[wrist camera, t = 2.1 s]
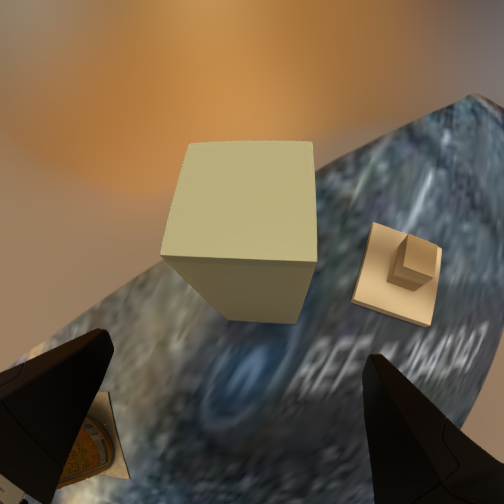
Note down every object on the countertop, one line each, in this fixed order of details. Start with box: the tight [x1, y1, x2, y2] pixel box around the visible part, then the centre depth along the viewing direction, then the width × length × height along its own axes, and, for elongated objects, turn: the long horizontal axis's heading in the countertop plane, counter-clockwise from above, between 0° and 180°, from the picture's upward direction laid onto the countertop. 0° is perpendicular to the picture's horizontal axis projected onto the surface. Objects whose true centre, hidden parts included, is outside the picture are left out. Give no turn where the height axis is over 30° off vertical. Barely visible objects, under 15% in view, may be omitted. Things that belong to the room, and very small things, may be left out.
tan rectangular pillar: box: [160, 141, 317, 324], centre depth 16 cm, size 5×5×13 cm
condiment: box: [56, 392, 130, 490], centre depth 12 cm, size 7×8×12 cm
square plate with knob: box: [351, 222, 442, 327], centre depth 19 cm, size 7×7×4 cm
